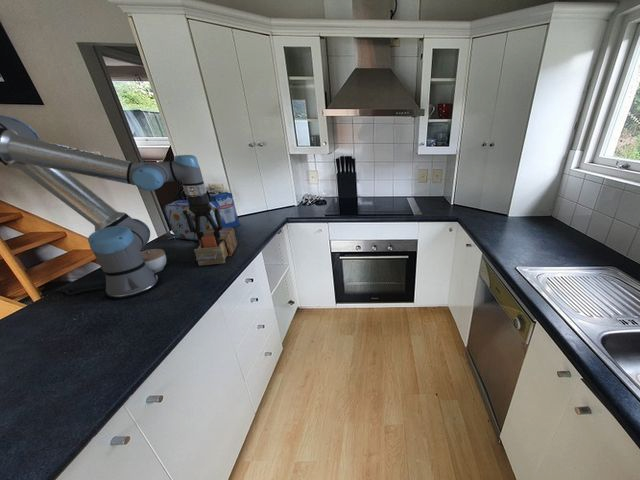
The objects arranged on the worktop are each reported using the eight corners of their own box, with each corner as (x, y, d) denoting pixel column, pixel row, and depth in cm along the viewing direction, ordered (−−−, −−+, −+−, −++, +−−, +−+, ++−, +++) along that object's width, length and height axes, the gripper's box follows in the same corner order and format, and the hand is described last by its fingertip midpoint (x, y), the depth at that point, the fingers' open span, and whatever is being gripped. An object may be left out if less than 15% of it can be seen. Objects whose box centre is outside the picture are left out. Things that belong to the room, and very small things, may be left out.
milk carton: (223, 229, 163) (215, 196, 155) (218, 227, 166) (209, 195, 157) (239, 224, 171) (231, 193, 162) (233, 223, 174) (225, 191, 165)
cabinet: (231, 256, 131) (226, 237, 127) (204, 258, 128) (198, 240, 124) (237, 244, 144) (233, 227, 140) (213, 246, 141) (207, 229, 137)
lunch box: (231, 235, 155) (221, 197, 145) (220, 242, 145) (208, 202, 136) (185, 233, 157) (173, 195, 147) (171, 240, 147) (157, 200, 138)
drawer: (222, 268, 119) (217, 252, 115) (195, 271, 116) (189, 254, 113) (231, 250, 135) (227, 236, 131) (208, 253, 132) (203, 238, 129)
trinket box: (153, 277, 113) (145, 257, 109) (132, 274, 115) (123, 254, 111) (176, 265, 122) (169, 246, 118) (156, 263, 124) (148, 244, 120)
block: (204, 248, 121) (200, 238, 119) (207, 244, 125) (204, 234, 123) (216, 247, 122) (213, 237, 120) (219, 243, 126) (216, 233, 124)
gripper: (167, 197, 108) (186, 250, 118) (218, 195, 112) (231, 246, 123) (175, 193, 114) (192, 244, 125) (222, 191, 119) (235, 240, 129)
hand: (211, 245), depth 124 cm, fingers closed on block, 5 cm apart
